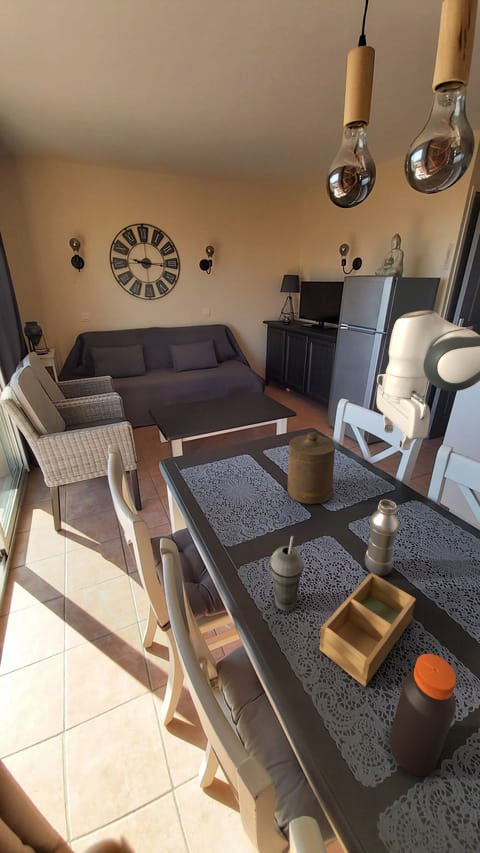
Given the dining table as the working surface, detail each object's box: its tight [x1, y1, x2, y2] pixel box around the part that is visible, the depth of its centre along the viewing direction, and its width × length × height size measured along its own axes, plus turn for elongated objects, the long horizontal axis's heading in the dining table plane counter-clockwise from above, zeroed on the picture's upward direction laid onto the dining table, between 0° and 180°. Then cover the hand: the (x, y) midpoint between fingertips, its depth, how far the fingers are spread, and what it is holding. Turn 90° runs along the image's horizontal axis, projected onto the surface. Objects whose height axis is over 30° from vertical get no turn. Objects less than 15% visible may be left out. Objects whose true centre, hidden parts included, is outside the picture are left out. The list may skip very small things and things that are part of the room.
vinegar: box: [389, 653, 457, 778], centre depth 53 cm, size 7×7×20 cm
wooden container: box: [287, 431, 336, 505], centre depth 119 cm, size 15×15×22 cm
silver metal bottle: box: [364, 499, 400, 577], centre depth 87 cm, size 6×7×20 cm
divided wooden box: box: [319, 572, 417, 688], centre depth 74 cm, size 10×19×7 cm, turn 133°
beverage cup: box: [269, 535, 304, 612], centre depth 79 cm, size 7×7×20 cm
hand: (395, 439), depth 88 cm, fingers open, 8 cm apart
